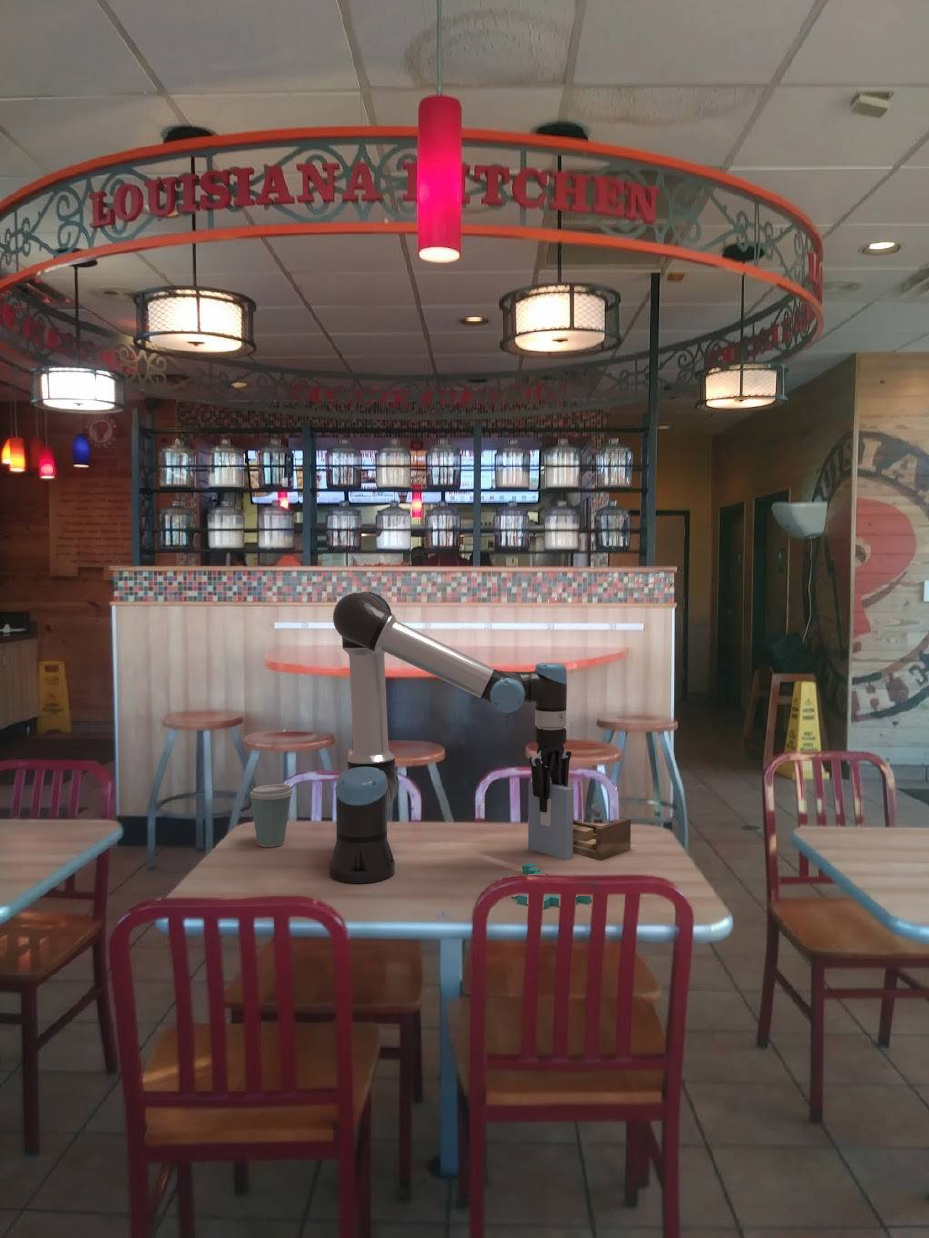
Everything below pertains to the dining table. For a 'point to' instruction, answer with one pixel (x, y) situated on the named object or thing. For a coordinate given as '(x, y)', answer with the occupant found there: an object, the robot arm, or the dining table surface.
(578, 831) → the offcut
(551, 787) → the grey rectangular panel
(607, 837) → the rack
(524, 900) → the alien figure
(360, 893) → the dining table surface
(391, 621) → the robot arm
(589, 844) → the offcut
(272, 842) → the disposable coffee cup
